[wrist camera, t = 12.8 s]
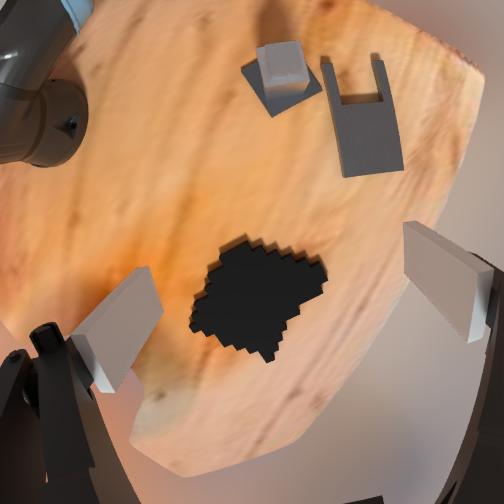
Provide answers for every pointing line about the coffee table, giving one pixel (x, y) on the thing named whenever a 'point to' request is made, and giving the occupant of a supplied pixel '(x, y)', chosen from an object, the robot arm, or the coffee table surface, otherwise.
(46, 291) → the coffee table surface
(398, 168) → the slotted plate
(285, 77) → the stepped metal tower
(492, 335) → the robot arm
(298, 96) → the pad
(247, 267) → the decorative item
